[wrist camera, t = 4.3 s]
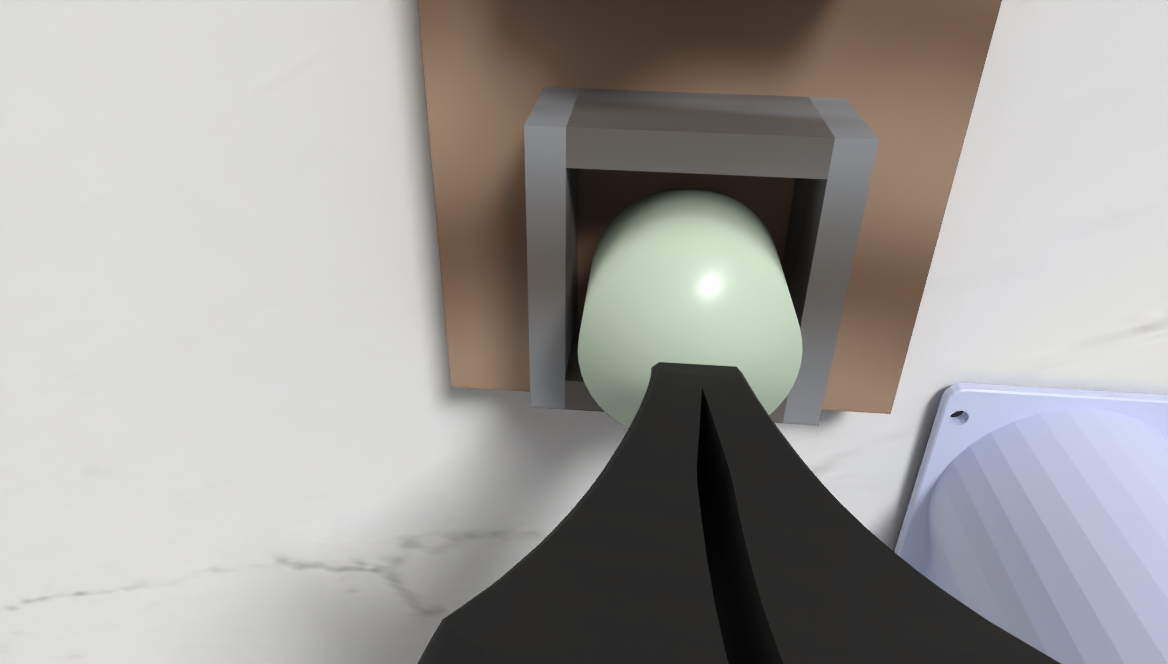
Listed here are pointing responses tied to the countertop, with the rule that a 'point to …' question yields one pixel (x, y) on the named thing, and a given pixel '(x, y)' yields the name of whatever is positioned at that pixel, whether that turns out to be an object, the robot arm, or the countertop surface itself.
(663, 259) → the sage spring button
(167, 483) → the countertop surface
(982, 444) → the robot arm
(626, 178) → the button panel
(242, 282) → the countertop surface
